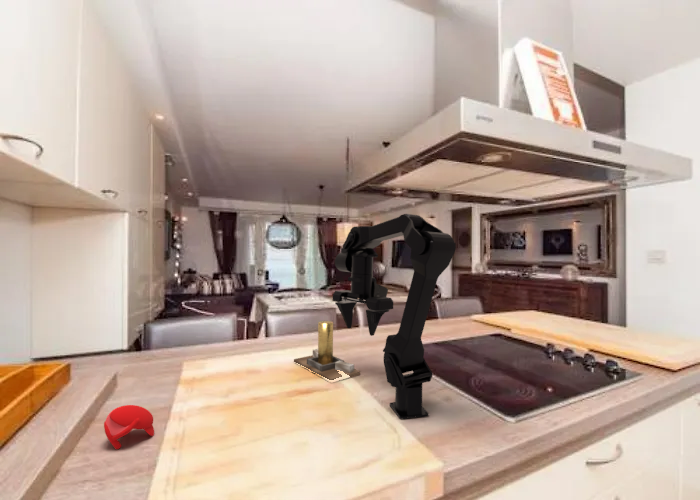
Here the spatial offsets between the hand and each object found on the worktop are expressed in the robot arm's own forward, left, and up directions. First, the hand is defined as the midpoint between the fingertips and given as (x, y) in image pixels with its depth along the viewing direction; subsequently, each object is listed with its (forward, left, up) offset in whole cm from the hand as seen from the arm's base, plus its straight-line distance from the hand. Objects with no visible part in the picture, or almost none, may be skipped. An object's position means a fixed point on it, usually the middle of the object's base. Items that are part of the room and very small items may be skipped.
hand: (360, 331), depth 84 cm
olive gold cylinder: (+11, +7, -12) cm, 18 cm away
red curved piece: (-18, +47, -13) cm, 52 cm away
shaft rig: (+11, +7, -13) cm, 19 cm away
